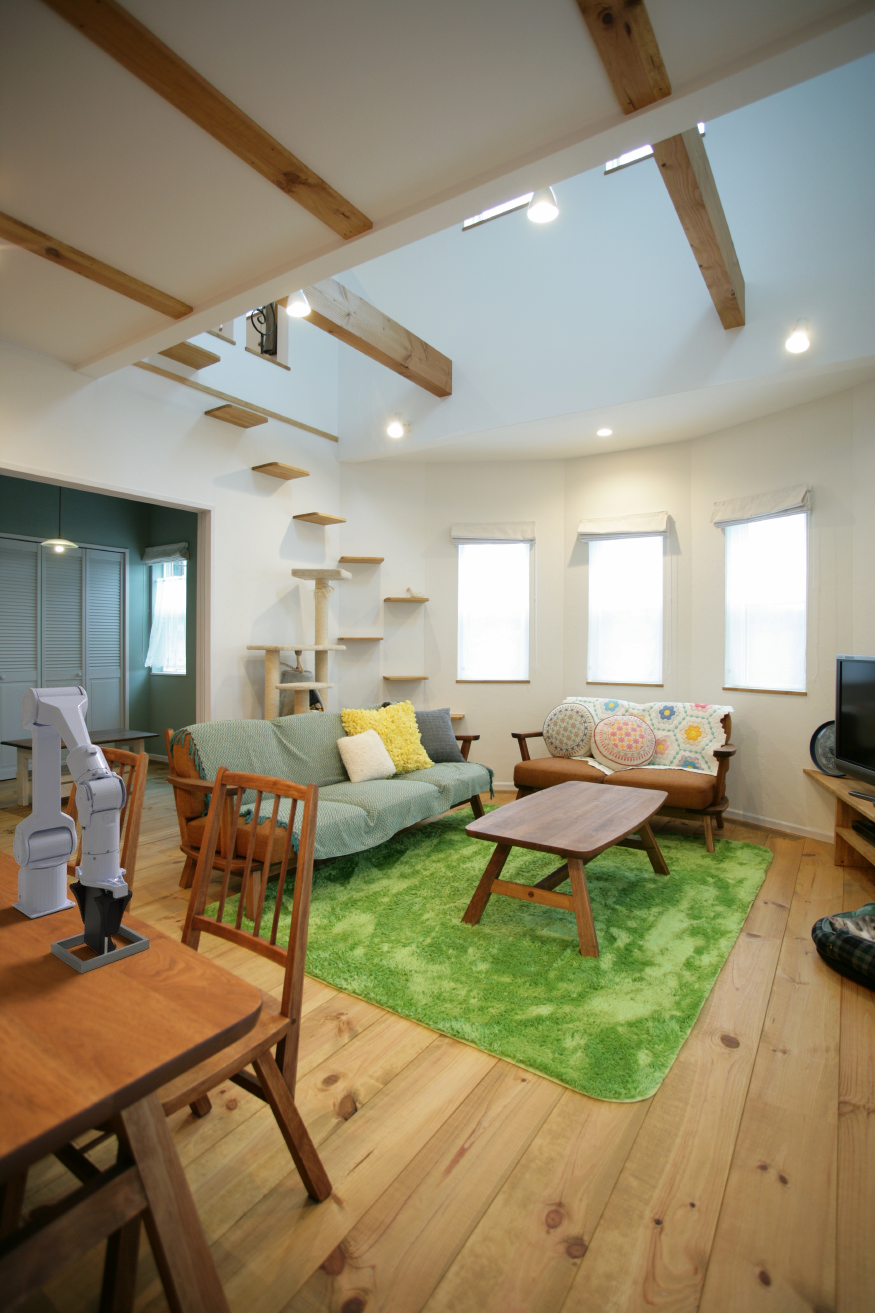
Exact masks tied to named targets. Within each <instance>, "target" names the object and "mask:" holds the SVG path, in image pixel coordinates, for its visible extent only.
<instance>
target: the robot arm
mask: <svg viewBox="0 0 875 1313" xmlns="http://www.w3.org/2000/svg"><path fill="white" fill-rule="evenodd" d="M20 706H21V707H20V708H21V709H20V710H21V713H20V714H21V715H20V716H21V717H20V718H21V719H20V721H21V724H22V727H21V728H22V729H24V730H28V731H30V734H31V742H32V743H31V744H32V745H31V747H32V748H31V750H32V751H31V753H32V754H31V755H32V756H31V758H32V759H31V760H32V762H31V766H32V768H31V769H32V771H31V773H32V774H31V775H32V776H31V778H32V779H31V781H32V783H31V784H32V785H31V787H32V788H31V789H32V790H31V791H32V794H31V796H32V800H31V801H32V802H31V803H32V806H31V807H32V808H31V809H32V811H31V813H30V814H29V815H28V816H26V817H25V818H24V819H23V820H22V821H20V822H19V823H17V825H16V827H15V830H14V832H15V833H14V839H13V842H12V851H13V852H12V853H13V857H14V860H15V861H14V862H16V864H17V865H19V866H20V867H19V870H18V872H17V902H14V903H12V907H13V908H15V909H16V910H18V911H20V912H21V913H23V914H24V915H25V916H27V917H29V918H30V919H35V918H38V917H42V916H44V915H49V914H52V913H55V912H58V911H59V912H60V911H62V910H66V909H69V908H73V907H76V903H77V906H78V910H79V914H80V918H81V921H82V924H83V925H84V926H85V892H86V886H91V887H97V888H103V889H107V891H106V894H104V895H101V896H97V897H94V901H95V903H96V905H97V907H98V909H99V912H100V916H101V923H102V931H103V934H104V937H110V936H111V937H112V936H114V935H118V934H119V933H118V932H119V928H120V925H121V924H122V921H123V920H122V919H123V916H124V914H125V910H126V908H127V906H128V904H129V902H130V901H131V900H132V897H133V895H134V894H133V892H134V891H132V890H130V889H128V888H129V886H128V883H127V882H126V881H125V879H124V877H123V876H124V875H126V874H127V869H125V868H122V867H120V836H121V835H120V833H121V832H120V827H121V826H120V814H121V813H120V812H121V811H120V810H122V809H123V808H124V807H125V806H126V801H127V790H126V788H127V787H126V784H125V783H124V780H123V779H124V778H122V777H121V776H120V775H118V774H117V773H116V772H115V771H111V768H110V767H109V764H108V762H107V760H106V757H105V755H104V753H103V750H102V749H101V747H100V746H98V745H96V744H93V743H92V741H91V738H90V735H89V732H88V731H89V730H88V729H87V728H88V727H87V724H86V722H85V719H86V715H87V711H88V709H89V708H88V707H89V698H88V693H87V692H86V690H85V689H84V687H82V686H81V685H77V686H66V687H65V686H62V687H60V686H59V687H42V688H41V687H39V688H38V687H37V688H34V687H29V688H27V689H26V690H25V691H24V692H23V695H22V697H21V701H20ZM61 739H62V740H61ZM62 741H63V743H64V744H65V747H66V748H67V750H68V751H69V753H68V755H67V757H66V760H65V762H66V765H67V768H68V770H69V772H70V775H71V778H72V780H73V783H74V784H75V787H76V791H75V795H74V798H75V806H76V809H77V814H78V815H77V816H78V817H77V818H78V824H79V825H81V865H79V866H76V867H75V869H74V870H75V879H77V882H73V883H70V884H69V886H68V885H67V884H68V877H67V876H68V874H67V873H68V872H67V870H68V866H67V863H68V861H70V860H71V856H73V855H74V854H75V852H76V851H77V848H78V836H77V831H76V825H75V824H76V822H75V820H74V818H73V817H71V816H70V815H69V814H66V813H64V812H63V811H62V798H61V797H62V771H61V770H62V744H61V742H62ZM67 886H68V887H67ZM68 888H69V890H70V891H71V892H72V894H73V896H74V898H75V901H76V902H74V901H73V900H70V899H68V890H67V889H68Z"/></svg>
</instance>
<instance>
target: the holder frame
mask: <svg viewBox="0 0 875 1313" xmlns="http://www.w3.org/2000/svg"><path fill="white" fill-rule="evenodd" d="M118 934H119V935H120V936H121V937H124V938H126V939H127V940H129V941H131V942H133V943H131V944H128V945H126V946H123V947H120V948H116V950H114V951H112V952H109V953H106V954H103V955H101V956H100V955H98V956H95V957H92V958H90V959H87V960H84V961H83V960H81V959H80V958H79V957H77V956H76V955H75V954H73V953H72V952H70V951H68V950H67V949H69V948H72V947H76V946H79V945H81V944H85V943H84V932H81V933H78V934H76V935H73V936H70V937H66V938H63V939H60V940H57V941H54V942H51V943H50V953H52V954H53V955H54V956H56V957H57V958H58V959H60V960H61V961H63V962H65V963H66V964H67V965H68V966H70V967H71V968H72V969H74V970H75V971H77V972H78V973H80V974H81V975H82V974H84V973H87V972H89V971H93V970H95V969H97V968H101V967H103V966H106V965H108V964H111V963H113V962H117V961H118V960H121V959H124V958H126V957H129V956H132V955H135V954H137V953H140V952H143V951H145V950H148V949H150V939H149V938H148V937H146V936H144V935H142V933H139V932H137V931H136V930H134V929H131V928H130V927H128V926H127V925H124V924H122V923H121V925H120V928H119V932H118Z"/></svg>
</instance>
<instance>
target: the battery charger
mask: <svg viewBox="0 0 875 1313" xmlns="http://www.w3.org/2000/svg"><path fill="white" fill-rule="evenodd" d="M106 891H107V889H103V888H97V887H91V886H86V892H85V925H84V928H83V930H84V931H83V933H84V943H83V944H85V945H87V947H89V948H90V949H91V950H92V951H93V952H95V954H97V955H98V956H101V955H103V954H106V953H109V952H112V951H114V950H117V949H118V945H117V944H116V943H115V942H114V941H113V940H112V936H110V937H104V934H103V931H102V923H101V916H100V912H99V909H98V907H97V905H96V903H95V901H94V897H97V896H101V895H104V894H106Z"/></svg>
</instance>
